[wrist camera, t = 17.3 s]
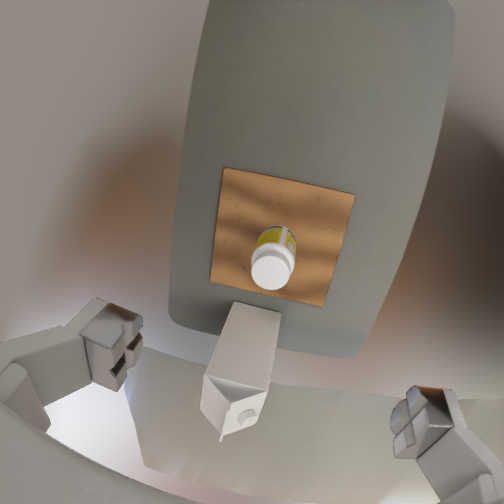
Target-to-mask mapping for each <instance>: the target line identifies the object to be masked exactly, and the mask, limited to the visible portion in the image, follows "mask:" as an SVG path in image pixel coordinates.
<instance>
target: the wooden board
mask: <svg viewBox="0 0 504 504" xmlns="http://www.w3.org/2000/svg"><path fill="white" fill-rule="evenodd" d="M354 199H355V195H354V194H350V193H346V192H342V191H338V190H333V189H329V188H325V187H321V186H316V185H312V184H307V183H303V182H298V181H294V180H289V179H284V178H279V177H274V176H269V175H264V174H259V173H254V172H248V171H243V170H237V169H232V168H226V167H225V168H224V172H223V179H222V186H221V194H220V201H219V209H218V217H217V225H216V233H215V242H214V250H213V259H212V268H211V277H210V282H214V283H218V284H222V285H226V286H231V287H235V288H239V289H244V290H248V291H252V292H257V293H261V294H266V295H270V296H275V297H279V298H284V299H288V300H293V301H298V302H302V303H307V304H312V305H317V306H321V307H322V306H323V303H324V300H325V297H326V294H327V291H328V288H329V285H330V281H331V278H332V275H333V272H334V269H335V265H336V262H337V259H338V256H339V252H340V249H341V246H342V242H343V239H344V235H345V232H346V228H347V225H348V221H349V217H350V214H351V210H352V206H353V202H354ZM272 225H281V226H284V227H286V228H288V229H289V230H291V231H292V233H293V234H294V236H295V238H296V254H295V265H294V269H293V272H292V273H291V275H290V277H289V280H288V282H287V283H286V284H285V285H284V286H283V287H281V288H279V289H276V290H267V289H264V288H262V287H260V286H258V285H257V284H256V283H255V281H254V280H253V278H252V274H251V269H252V265H251V258H252V254H253V252H254V249H255V247H256V244H257V241H258V239H259V236H260V234H261V233H262V231H263V230H264V229H265V228H267V227H269V226H272Z"/></svg>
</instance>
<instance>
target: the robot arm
mask: <svg viewBox="0 0 504 504" xmlns="http://www.w3.org/2000/svg"><path fill="white" fill-rule="evenodd" d="M142 327H143V318H142V316H141V315H139V314H137V313H134V312H131V311H129V310H126V309H124V308H121V307H119V306H117V305H115V304H112V303H109V302H107V301H104V300H102V299H100V298H98V297H97V298H94V299H92V300H91V301H90V302H89V303H88V304H87V305H86V306H85V307H84V308H83V309H82V310H81V311H80V312H79V313H78V314H77V315H76V316H75V317H74V318H73V319H72V320H71V321H70V322H69V323H68V324H67V325H66V326H65V327H64V328H63V327H62V326H58V327H54V328H51V329H47V330H44V331H40V332H36V333H33V334H29V335H26V336H22V337H19V338H15V339H11V340H8V341H4V342H1V343H0V504H202V503H199V502H195V501H192V500H188V499H186V498H182V497H179V496H176V495H173V494H170V493H168V492H165V491H162V490H159V489H156V488H154V487H151V486H149V485H146V484H143V483H141V482H139V481H136V480H134V479H131V478H129V477H127V476H124V475H122V474H120V473H118V472H116V471H113V470H111V469H109V468H107V467H105V466H103V465H101V464H99V463H97V462H95V461H93V460H91V459H89V458H87V457H85V456H84V455H82V454H80V453H78V452H76V451H75V450H73V449H71V448H69V447H68V446H66V445H64V444H62V443H61V442H59V441H57V440H56V439H54V438H52V437H51V436H49V435H48V434H46V433H45V432H46V431H47V429H48V428H49V426H50V425H51V423H50V419H49V417H48V415H47V413H46V411H45V410H44V406H46V405H48V404H50V403H52V402H54V401H56V400H58V399H60V398H63V397H64V396H67V395H69V394H71V393H73V392H74V391H77V390H79V389H80V388H83V387H85V386H86V385H89V384H91V383H92V381H93V382H95V383H97V384H99V385H102V386H104V387H106V388H108V389H111V390H113V391H115V392H118V390H119V389H120V387H121V386H122V384H123V383H124V381H125V379H126V378H127V369H128V368H131V367H133V366H134V365H135V364H136V362H137V360H138V358H139V356H140V353H141V350H142V345H143V337H142V336H141V334H140V332H139V331H140V329H141V328H142ZM390 427H391V430H392V432H393V433H394V434H395V435H396V436H395V438H394V439H393V441H392V442H393V449H394V457H395V458H398V459H417V460H416V462H417V463H418V465H419V467H420V468H421V470H422V471H423V473H424V475H425V476H426V478H427V479H428V481H429V483H430V484H431V486H432V487H433V489H434V491H435V492H436V494H437V496H438V497H439V499H440V500H441V502H439V503H438V504H504V464H503V462H502V461H501V460H500V459H499V458H498V457H497V456H496V455H495V454H494V453H493V452H492V450H491V449H490V448H489V447H488V446H487V445H486V444H485V443H484V442H483V441H482V440H481V439H480V438H479V437H478V435H477V434H476V433H475V432H474V431H473V430H472V429H471V428H467V426H466V423H465V420H464V417H463V414H462V411H461V408H460V405H459V402H458V399H457V396H456V394H455V392H454V391H453V390H452V389H443V388H433V387H425V386H417V385H414V386H412V387H411V388H410V389H409V390H408V391H407V393H406V399H404V400H402V401H400V402H398V404H397V405H396V406H395V408H394V409H393V412H392V414H391V419H390Z"/></svg>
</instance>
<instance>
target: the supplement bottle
mask: <svg viewBox="0 0 504 504" xmlns="http://www.w3.org/2000/svg"><path fill="white" fill-rule="evenodd" d="M295 254H296V238H295V236H294V234H293V233H292V231H291V230H289V229H288V228H286V227H284V226H281V225H272V226H269V227H267V228H265V229H264V230H263V231H262V233H261V234H260V236H259V239H258V241H257V244H256V247H255V249H254V252H253V254H252V258H251V265H252V269H251V274H252V278H253V280H254V281H255V283H256V284H257V285H258V286H260V287H262V288H264V289H267V290H276V289H279V288H281V287H283V286H284V285H285V284H286V283H287V282H288V280H289V277H290V275H291V273H292V272H293V269H294V265H295Z"/></svg>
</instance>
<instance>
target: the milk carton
mask: <svg viewBox="0 0 504 504" xmlns="http://www.w3.org/2000/svg"><path fill="white" fill-rule="evenodd" d="M280 320H281V313H279V312H275V311H271V310H267V309H263V308H259V307H255V306H251V305H247V304H243V303H240V302H236V301H234V302H233V305H232V307H231V310H230V312H229V315H228V317H227V320H226V322H225V325H224V327H223V330H222V332H221V335H220V337H219V340H218V342H217V345H216V347H215V350H214V352H213V354H212V357H211V359H210V362H209V364H208V367H207V369H206V372H205V374H204V381H203V388H202V396H201V404H200V410H201V411H202V412H203V414H204V415H205V416H206V417H207V419H208V420H209V421H210V422H211V423H212V425H213V426H214V427H215V428H216V430H217V431H218V432H219V433H220V434H221V437H220V441H219V442H220V443H221V441H222V438H223V436H224V435H227V434H230V433H232V432H235V431H238V430H241V429H243V428H246V427H249V426H251V425H254V424H255V423H256V421H257V420H258V417H259V414H260V412H261V409H262V407H263V404H264V401H265V399H266V396H267V393H268V390H269V385H270V380H271V373H272V367H273V362H274V357H275V350H276V345H277V339H278V333H279V327H280Z"/></svg>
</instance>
